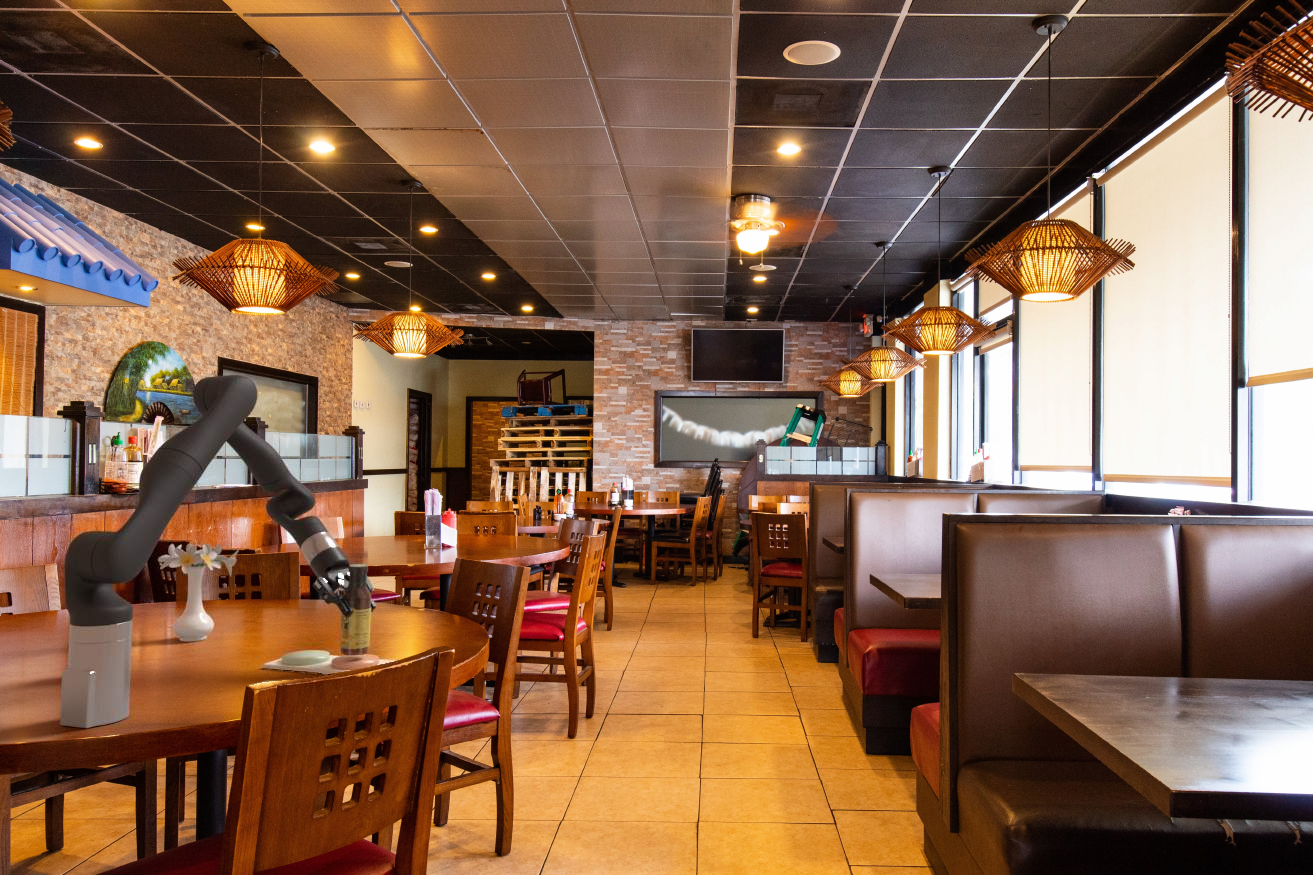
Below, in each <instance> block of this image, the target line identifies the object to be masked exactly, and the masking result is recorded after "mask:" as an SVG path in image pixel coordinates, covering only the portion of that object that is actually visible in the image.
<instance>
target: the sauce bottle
mask: <svg viewBox="0 0 1313 875" xmlns="http://www.w3.org/2000/svg"><path fill="white" fill-rule="evenodd" d="M368 572H369V566H368V564H364V563H362V564H361V563H354V564H349V584H348V587H347V590H346V592H344V598H343V599H345V598H346V600H347V601H348V603H349V604H350V606H351V607H352V609H353V613H352V615H351V616H350V617H345V615H343V614H342V613H341V617H340V618H341V620H340V640H339V641H340V642H339V644H340V653H341V654H342V655H343V656H344V655H363V654H368V652H369V650H370V644H371V643H370V642H371V641H370V640H371V625H372V624H371V621H372V612H371V598H372V593H370V591H369V589H368V588H367V586H366V584H367V581H366V579H367V577H368V575H367V573H368Z"/></svg>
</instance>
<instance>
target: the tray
mask: <svg viewBox="0 0 1313 875" xmlns="http://www.w3.org/2000/svg"><path fill="white" fill-rule="evenodd" d="M394 661H396V662H397V660H394V659H385V658H383V659H380V657H379V656H378V655H375V654H369V653H366V654H363V655H344V654H343V655H333V654H330V651H326V650H323V649H322V650H319V649H316V650H315V649H310V650H298V651H291V652H288V653H285V654H283V655H282V656H281V658H278V659H276V660H272V661H268V662H266V663H263V664H262V669H263V668H271V669H272V668H273V669H282V670H281V671H283V669H284V670H297V671H309V672H318V673H322V674H321V675H328V674H331V673H337V672H344V671H350V670H355V669H359V668H364V667H370V666H375V665H380V664H385V663H389V662H394ZM271 669H270V670H271Z"/></svg>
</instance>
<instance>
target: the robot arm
mask: <svg viewBox="0 0 1313 875" xmlns="http://www.w3.org/2000/svg"><path fill="white" fill-rule="evenodd" d="M192 400H193V404H194V406H195V408H196V410H197V411H198V412H199V414H200V415H201V417H200V418H199V419H197V420H196V421H194V422H193V423H191V424H190V425H188V426H186V428H184V429H182V430H181V431H179V432H177V433H176V434H174V435H172V436H171V437H170V438H168V439H167V440H166V441H164V443H162V444H161V445H160V446H159V447H158V448H157V450H156V451H155V452H154V453H153V454H152V456H151V457H150V458H149V460H148V461H147V462H146V463H145V465H144V467H143V468H142V470H141V473H140V476H139V481H138V503H137V505H136V507H135V510H134V511H133V513H132V514H131V516H130V517H129V518H128V519H127V521H126V522H125V523H124V524H123V525H122V526H121V527H120V528H119V529H118V530H117V531H113V530H112V531H110V530H108V531H107V530H91V531H84V532H82V533H79V534H78V535H76V536H75V537H74V538H73V539H72V541H71V542H70V543H69V545H68V548H67V551H66V552H65V558H64V602H65V603H64V604H65V608H66V610H67V612H68V615H69V636H68V637H69V638H68V640H69V641H68V656H67V657H68V659H67V662H68V663H67V668H64V669H63V670H62V671H61V692H60V693H61V694H60V712H59V713H60V714H59V715H60V717H59V718H60V719H59V726H65V727H75V728H82V729H89V728H92V727H96V726H97V727H99V726H104V725H108V724H113V723H116V722H119V721H122V720H125V719H126V718H128V717H129V716H130V696H131V695H130V693H131V690H130V689H131V669H132V668H131V667H132V642H133V622H134V621H133V620H134V619H133V617H134V616H133V614H134V613H133V612H134V611H133V610H134V608H133V605H132V603H131V602H129V601H127V599H124V598H123V597H122V596H120V595H119V594H118V593H117V592H116V590H115V589H114V585H118V584H119V585H121V584H124V583H128V582H129V581H132V580H133V579H134V578H135V577H137V576H138V575H139V574H140V572H142V570H143V568H144V567H145V566H146V564H147V562H148V561H149V560H150V559H149V558H150V557H151V555H152V554H153V552H154V550H155V549H156V546H157V545H158V543H159V540H160V539H161V537H162V535H163V533H164V532H165V530H166V528H167V526H168V525H169V523H170V522H171V520H172V519H173V517H174V515H175V514H176V513H177V511H178V509H179V508H180V506H181V505H182V503H183V502H184V501H185V499H186V498H187V496H188V495H189V494H190V492H191V491H192V490H193V489H194V488H195V486H196V484H197V483H198V481H199V480H200V479H201V478H202V476H203V474H204V473H205V471H206V469H207V468H208V467H209V465H210V464H211V462H213V460H214V458H215V457H216V456H217V454H219V452H220V450H221V449H222V447H224V445H225V444H226V442H227V444H228V445H229V446H230V447H231V449H233V451H234V452H235V453H236V454H237V455H238V456H239V458H240V459H241V460H242V461H243V462H244V464H245V465H246V467H247V469H248V470H249V471H250V474H252V476H253V477H254V479H255V481H256V482H257V484H258V485H259V487H260V488H261V489H262V490H263V491H264V492H265V493H276V492H280V491H281V492H280V493H278V494H276V495H274V496H273V497H270V498H269V499H268V500H267V502H266V504H265V511H266V513H267V515H268V517H270V519H272V521H273V522H275V523H276V524H278V526H280V527H282V528H283V529H284V530H285V531H286V532H287V533H288V534H289V535H290V536H291V537H292V538H293V539H294V541H295V543H296V544H297V546H298V548H299V549H300V551H301V552H302V554H303V557H304V559H305V560H306V562H307V563H308V565H309V567H310V568H311V570H312V572H313V573H314V574H315V576H316V577H317V578H316V579H315V580H316V581H315V582H313V584H312V587H313V588H314V590H315V591H316V592H317V593H318V594H319V596H320V597H321V598H322V600H323V602H325V604H327V605H331V604H333V605H334V606H337V608H338V610H339V611H340V612H341V615H342V614H343V615H345V617H350V616H351V615H352V613H353V609H352V607H351V606H350V604H349V603H348V601H347V600H346V598H345V599H343V598H344V595H345V592H346V590H347V587H348V584H349V566H350V565H351V564H350V560H349V559H348V557H347V556H346V553H345V552H344V551H343V550H342V548H341V547H340V545H339V543H338V542H337V541H336V539H335V538H334V537H333V536H332V535H331V533H329V531H328V529H327V528H326V526H325V525H324V523H323V522H322V520H321V519H320V518H319V517H317V516H316V515H309V516H308V515H307V516H304V517H302V515H304V514H307V513H308V512H310V511H311V510H313V509H314V507H315V504H316V497H315V495H314V494H313V492H312V491H311V490H310V489H309V488H308V487H307V486H306V485H305V484H303V483H302V482H300V481H299V480H298V479H297V478H296V477H295V476H294V475H293V474H292V472H291V471H290V470H289V468H288V466H287V465H286V463H285V462H284V460H283V459H282V456H281V455H280V454H279V452H278V451H277V450H276V449H275V448H274V447H273V446H272V444H270V443H269V442H268V441H266V440H265V439H264V438H262V437H261V436H260V435H258V434H257V433H255V432H254V431H253V430H252V429H251V428H249V427H248V426H247V425H246V424H245V423H244V422H245V420H247V418H248V417H249V416H250V415H251V413H252V412H253V411H254V409H255V407H256V404H257V400H258V388H257V385H256V384H255V382H254V381H253V380H252V379H251V378H249V377H247V376H246V375H238V374H227V375H214V376H208V377H204V378H200V379H199V380H198V381H197V382H196V383H195V385H194V387H193V389H192ZM299 517H300V518H299ZM366 581H367V584H366V586H367V588H368V589H369V591H370V593H371V594H372V593H373V592H374V591H375V588H374V586H373V584H372V583H371V581H370V579H369V576H367V579H366ZM376 609H377V605H376V602H375V600H373V598H372V597H371V613H373V612H374V611H375V610H376Z"/></svg>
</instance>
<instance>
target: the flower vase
mask: <svg viewBox="0 0 1313 875" xmlns="http://www.w3.org/2000/svg"><path fill="white" fill-rule="evenodd" d="M182 546H183V545H182V544H180V545H178V546H176V547H175V544H173V543H171V544H170V545H169V546H168V554H164V555H163V554H162V555H161V556H160V557H159V558H158V559H157V561H158V562H160V563H162V564H161V566H160V568H159V569H160V570H163V569H164V568H165V567H167V566H168V567H169V568H173V569H174V568H178V567H181V571H182V572H183V574H184V575H186V574H187V577H188V591H187V601H186V605H185V609H184V611H183V612H182V614H181V615H180V616H179V617H178V618H177V620H175V621H174V623H173V625H172V631H173V632H174V634H175V635H176V636H178V637H179V641H180V642H187V643H191V642H192V643H193V642H199V641H200V642H201V641H204V640H206V639H207V638H208V636H207V635H208V634H210V633H211V632H212V631H213V629H214V628H215V623H214V620H213V619H212V617H211V616H210V615H209V614H208V613H207V612H206V610H205V608H204V605H203V596H202V595H203V594H202V590H203V588H202V584H203V583H202V582H203V576H204V571H205V569H206V567H207V568H208V569H209V570H210V571H213V570H214V568H217V569H222V563H224V564H225V567H226V569H227V570H228V573H229V576H230V578H231V577H232V572H233V569H232V567H234V566H235V564H236V563H237V558H236V557H237V554H238V553H239V551H240V548H238V549H237V550H236V551H235V552H234V553H232V555H231V556H230V557H227V556H225V555H223V554H221V552H222V551H223V547H222V545H221V544H217V545H215V546H214V547H213V548H212V546H211V544H209V543H208V542H207V543H205V544H203V545H202V549H199V550H197V549H198V548H197V545H195V544H194V545H193V543H187V545H186V547H185V550H186V551H184V550H183V549H182Z"/></svg>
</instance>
